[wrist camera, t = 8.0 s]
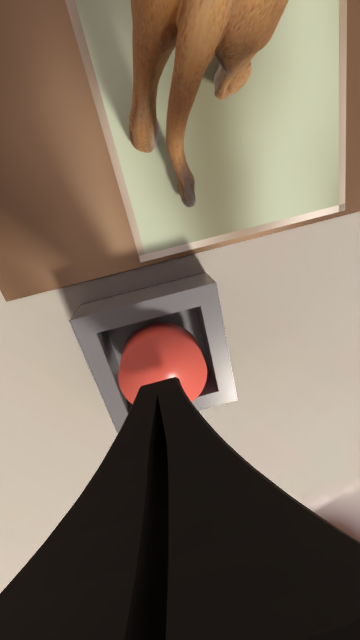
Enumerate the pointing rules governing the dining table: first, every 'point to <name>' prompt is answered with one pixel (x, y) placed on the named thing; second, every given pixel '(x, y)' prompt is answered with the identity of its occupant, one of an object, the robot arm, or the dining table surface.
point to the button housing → (146, 308)
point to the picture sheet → (164, 142)
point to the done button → (161, 360)
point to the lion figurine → (191, 63)
